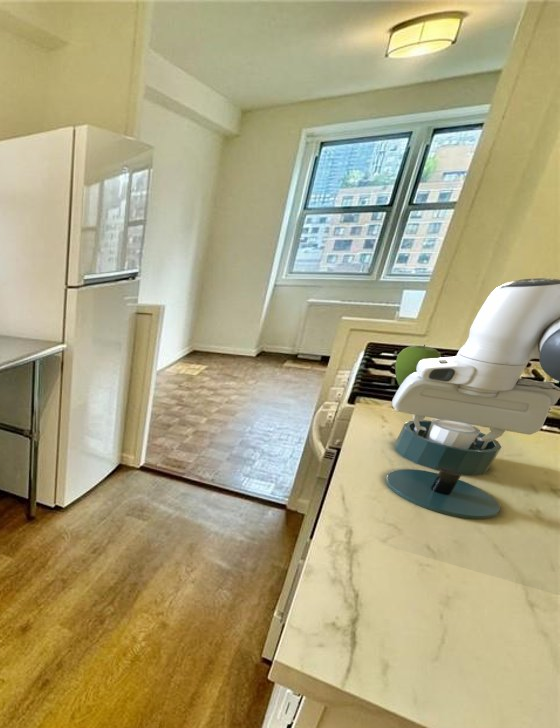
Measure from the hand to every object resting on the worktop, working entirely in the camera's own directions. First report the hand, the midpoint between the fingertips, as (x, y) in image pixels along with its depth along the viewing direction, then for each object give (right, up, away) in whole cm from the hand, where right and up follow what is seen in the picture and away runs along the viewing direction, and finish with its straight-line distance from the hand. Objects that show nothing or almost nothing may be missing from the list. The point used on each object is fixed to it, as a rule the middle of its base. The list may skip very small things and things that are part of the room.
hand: (446, 441), depth 93 cm
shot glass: (0, -3, +2) cm, 4 cm away
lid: (-11, -9, -10) cm, 17 cm away
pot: (0, -4, +2) cm, 4 cm away
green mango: (+26, +15, +36) cm, 47 cm away
